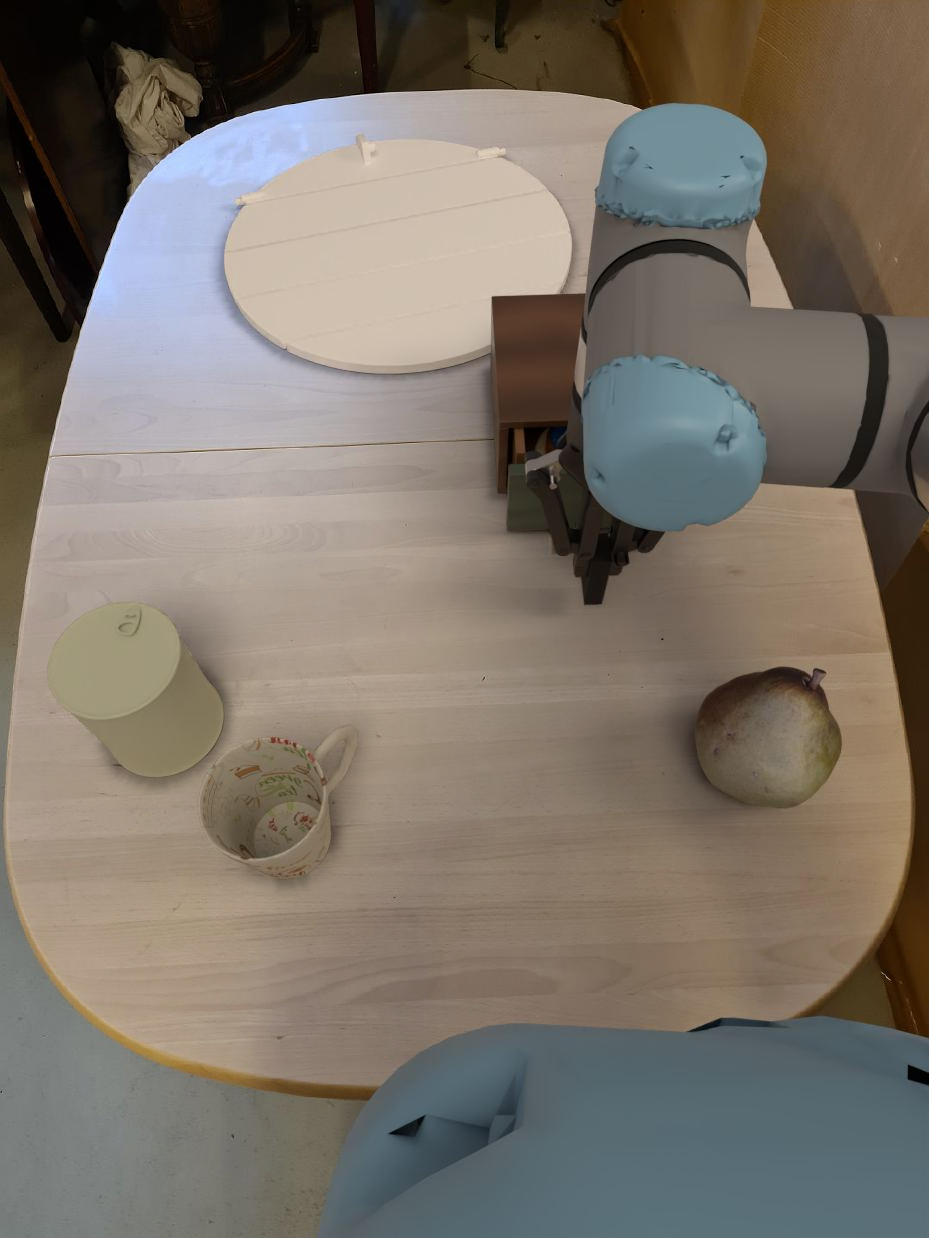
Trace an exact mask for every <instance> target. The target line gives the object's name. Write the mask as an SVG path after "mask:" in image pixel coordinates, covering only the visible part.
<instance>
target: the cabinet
mask: <svg viewBox="0 0 929 1238" xmlns="http://www.w3.org/2000/svg"><path fill="white" fill-rule="evenodd" d="M585 294H586V292H583V293H582V292H581V293H580V292H579V293H560V294H546V295H514V296H492V297H491V353H490V360H489V361H490V364H489V365H490V366H489V367H490V368H489V371H490V373H489V375H490V390H491V406H492V407H491V409H492V426H493V441H494V443H493V444H494V457H495V458H494V460H495V477H496V493H497V494H507V491H508V468H509V464H510V453H509V438H508V431H509V428H526V427H557V426H568V419H569V411H570V403H571V396H572V388H573V383H574V376H575V365H576V358H577V352H578V345H579V338H580V331H581V322H582V315H583V310H584V304H585Z"/></svg>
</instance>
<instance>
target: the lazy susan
mask: <svg viewBox="0 0 929 1238" xmlns="http://www.w3.org/2000/svg"><path fill="white" fill-rule="evenodd" d="M354 138H355V144H350V145H346V146H343V147H338V148H335V149H332V150H329V151H325V152H322V153H319V154H317V155H315V156H312V157H309V158H307V159H305V160H303V161H300V162H298V163H297V164H294V165H293V166H291V167H289V168H287V169H285V170H284V171H282V172H281V173H279V174H278V175H276V176H274V177H273V178H272V179H270V180H269V181H268V182H266V183H265V184H264V185H262V187H260V188H259V189H258V190H256V191H253V192H247V193H242V194H240V196H239V197H235V198H234V202H235V207H240V206H242V207H241V209H240V211H239V212H238V214H237V215H236V216H235V218H234V220H233V222H232V224H231V226H230V228H229V231H228V234H227V237H226V241H225V244H224V250H223V251H224V254H223V267H224V275H225V279H226V282H227V285H228V288H229V291H230V294H231V297H232V299H233V301H234V303H235V305H236V307H237V308H238V310H239V311H240V313H241V314H242V316H243V318H244V319H246V320H247V322H248V323H249V324H250V325H251V326H252V327H253V328H254V329H255V330H256V331H257V332H258V333H259V334H260V335H262V336H263V337H264V338H265V339H267V340H268V341H270V342H271V343H273V344H274V345H275V346H277V347H279V348H281V349H282V350H287V352H289V353H290V354H292V355H294V356H297V357H299V358H302V359H304V360H307V361H309V362H312V363H315V364H318V365H321V366H326V367H329V368H333V369H338V370H343V371H349V372H355V373H356V372H357V373H363V374H364V373H366V374H378V375H379V374H381V375H389V374H390V375H392V374H393V375H395V374H396V375H397V374H413V373H421V372H422V373H423V372H429V371H435V370H440V369H445V368H450V367H454V366H457V365H461V364H464V363H467V362H470V361H474V360H476V359H479V358H481V357H483V356H486V355H488V354H491V297H492V296H514V295H546V294H561V293H562V292H561V291H563V289H564V287H565V285H566V282H567V280H568V277H569V274H570V268H571V261H572V253H573V241H572V240H573V239H572V233H571V228H570V224H569V221H568V218H567V216H566V213H565V211H564V209H563V207H562V205H560V203H559V202H558V200H557V198H556V196H554V195H553V194H552V192H551V191H550V190H548V187H546V186H545V185H544V184H543V183H542V182H541V181H540V180H539V179H537V178H536V177H535V176H534V175H532V174H531V173H529V172H528V171H527V170H526V169H524V168H523V167H520V166H519V165H517V164H516V163H513V162H512V161H510V160H508V159H505V158H504V157H505V156H507V150H506V148H505V147H501V148H500V147H499V146H493V147H487V148H482V149H480V148H477V147H473V146H470V145H464V144H461V143H455V142H449V141H444V140H443V141H442V140H434V139H422V138H421V139H420V138H419V139H418V138H417V139H416V138H399V139H398V138H396V139H395V138H394V139H382V140H375V141H374V140H373V141H369V140H368V138H367V136H366V135H365V133H360V134H356V135H355V137H354Z"/></svg>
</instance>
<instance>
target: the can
mask: <svg viewBox="0 0 929 1238" xmlns="http://www.w3.org/2000/svg"><path fill="white" fill-rule="evenodd" d="M46 676H47V677H46V679H47V683H48V688H49V690H50V692H51V694H52V696H53V698H54V699H55V701H56V702H57V704H59V706H60V707H62V708H63V709H64V710H66V711H67V712H68V713H70V714H71V715H72V716H73V717H75V719H77V720H78V722H80V723H81V724H82V725H83V726H84V727H85V728H86V729H87V730H88V731H89V732H91V733H92V734H93V736H95V737H96V738H97V739H98V740H99V741H100V742H101V743H102V744H103V745H104V746H105V747H106V748H107V749H108V750H109V751H110V752H111V754H112V756H113V757H114V758H115V760H116V761H117V762H118V763H119V765H121V766H122V767H123V768H124V769H126V770H127V771H129V772H131V773H133V774H135V775H138V776H141V777H147V778H165V777H171V776H175V775H178V774H181V773H183V772H185V771H187V770H189V769H191V768H192V767H194V766H196V765H197V764H199V763H200V762H201V761H202V760H203V759H204V758H205V757H206V756H207V755H208V754H209V753H210V751H211V750H212V749H213V748H214V746H215V745H216V743H217V742H218V739H219V737H220V735H221V732H222V729H223V725H224V718H225V713H224V712H225V711H224V705H223V701H222V697H221V696H220V694H219V692H218V690H217V689H216V688H215V686H214V685H213V684H212V683H211V682H210V681H209V680H208V678H207V677H206V676H205V675H204V673H203V671H202V670H201V668H200V666H199V665H198V663H197V662H196V660H195V659H194V657H193V655H192V654H191V652H190V651H189V649H188V647H187V646H186V644H185V642H184V641H183V639H182V638H181V635H180V633H179V630H178V629H177V626H176V625H175V623H174V622H173V621H172V620H171V618H170V617H169V616H168V615H166V614H165V612H163V611H161V610H160V609H158V608H156V607H154V606H151V605H149V604H145V603H142V602H135V601H120V602H119V601H118V602H113V603H109V604H108V603H107V604H105V605H102V606H99V607H96V608H94V609H92V610H90V611H88V612H86V613H85V614H83V615H81V616H80V617H79V618H77V619H75V620H74V621H73V622H72V623H71V624H70V625H69V626H68V627H66V629H64V631H63V632H62V633H61V634H60V636H59V637H58V639H57V640H56V641H55V643H54V645H53V648H52V649H51V652H50V654H49V658H48V662H47V669H46Z"/></svg>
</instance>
